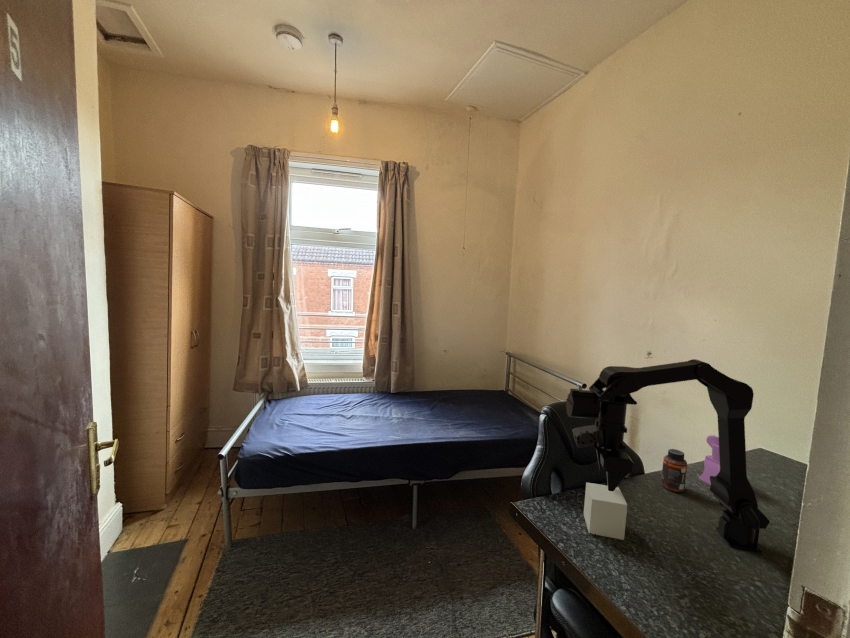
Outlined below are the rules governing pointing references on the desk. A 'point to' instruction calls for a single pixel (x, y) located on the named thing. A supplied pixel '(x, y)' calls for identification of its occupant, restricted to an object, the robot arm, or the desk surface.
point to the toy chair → (711, 460)
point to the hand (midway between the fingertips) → (606, 480)
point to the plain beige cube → (605, 511)
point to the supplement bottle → (674, 471)
